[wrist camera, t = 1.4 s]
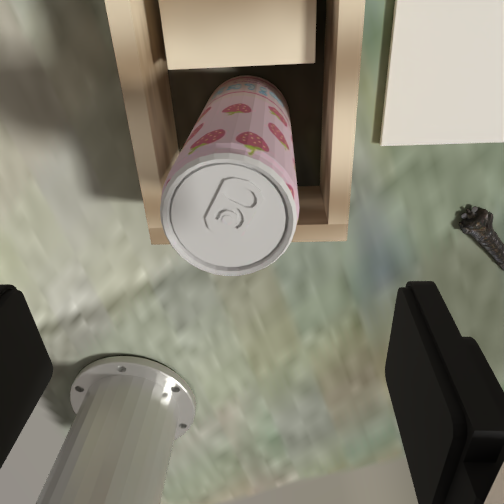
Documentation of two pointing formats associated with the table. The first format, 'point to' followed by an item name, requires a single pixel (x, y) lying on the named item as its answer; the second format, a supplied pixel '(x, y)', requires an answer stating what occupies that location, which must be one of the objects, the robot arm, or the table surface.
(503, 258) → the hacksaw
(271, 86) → the beverage can
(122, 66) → the frame
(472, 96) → the pad
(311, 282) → the table surface
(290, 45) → the offcut upper
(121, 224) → the table surface
